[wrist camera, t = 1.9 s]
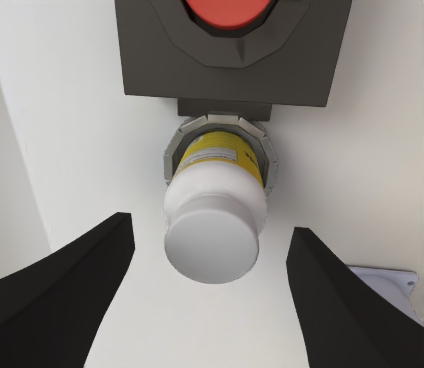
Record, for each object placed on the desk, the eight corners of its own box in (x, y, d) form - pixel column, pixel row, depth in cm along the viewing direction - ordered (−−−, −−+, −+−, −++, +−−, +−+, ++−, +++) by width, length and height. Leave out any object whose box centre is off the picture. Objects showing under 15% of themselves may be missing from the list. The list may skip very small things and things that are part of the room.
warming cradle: (265, 209, 21) (267, 222, 19) (170, 201, 21) (165, 213, 20) (284, 94, 17) (290, 98, 15) (167, 87, 17) (160, 90, 15)
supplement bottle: (256, 192, 20) (273, 298, 12) (189, 193, 21) (156, 295, 12) (257, 124, 18) (279, 193, 9) (180, 127, 18) (132, 196, 10)
